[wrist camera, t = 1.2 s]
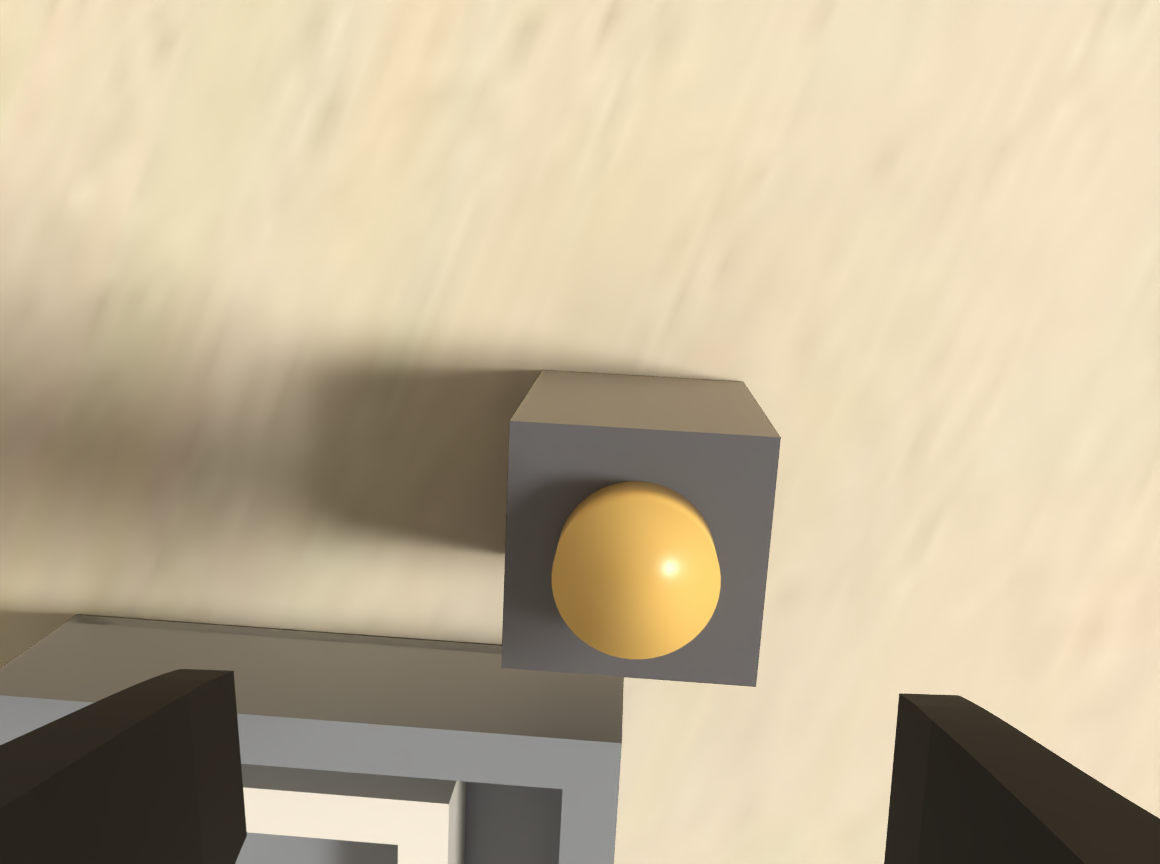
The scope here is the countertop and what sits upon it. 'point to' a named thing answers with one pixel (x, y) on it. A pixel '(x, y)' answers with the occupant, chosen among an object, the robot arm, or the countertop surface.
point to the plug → (638, 528)
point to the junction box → (368, 739)
